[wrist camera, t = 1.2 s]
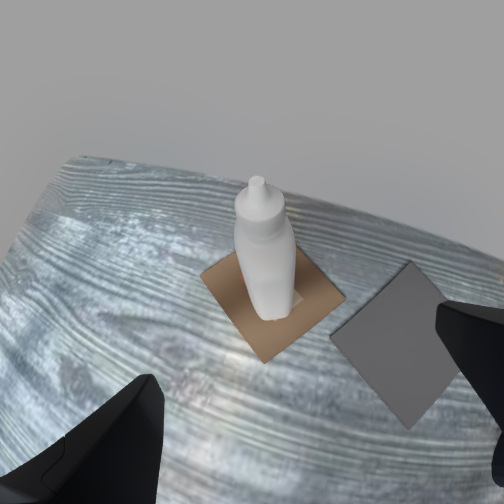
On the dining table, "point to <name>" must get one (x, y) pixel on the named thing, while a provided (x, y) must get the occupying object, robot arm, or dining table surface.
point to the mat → (400, 345)
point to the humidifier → (498, 462)
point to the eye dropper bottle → (265, 248)
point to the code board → (279, 330)
